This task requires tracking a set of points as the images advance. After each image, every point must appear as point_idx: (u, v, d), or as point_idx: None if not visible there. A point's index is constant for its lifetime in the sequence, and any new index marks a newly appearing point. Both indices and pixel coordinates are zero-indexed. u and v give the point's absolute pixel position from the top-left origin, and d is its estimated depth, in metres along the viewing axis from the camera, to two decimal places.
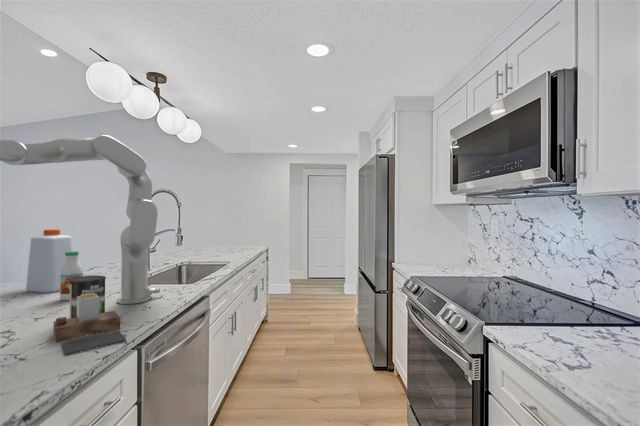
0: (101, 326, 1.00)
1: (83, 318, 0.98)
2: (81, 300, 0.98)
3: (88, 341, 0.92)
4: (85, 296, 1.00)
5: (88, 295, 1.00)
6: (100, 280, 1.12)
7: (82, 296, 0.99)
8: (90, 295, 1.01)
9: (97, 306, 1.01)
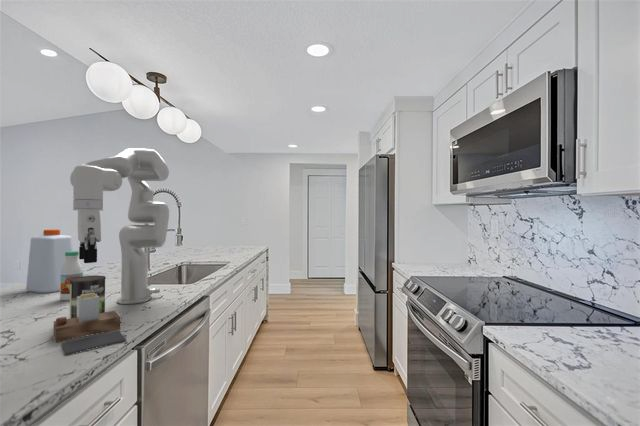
0: (101, 326, 1.00)
1: (83, 318, 0.98)
2: (81, 300, 0.98)
3: (88, 341, 0.92)
4: (85, 296, 1.00)
5: (88, 295, 1.00)
6: (100, 280, 1.12)
7: (82, 296, 0.99)
8: (90, 295, 1.01)
9: (97, 306, 1.01)
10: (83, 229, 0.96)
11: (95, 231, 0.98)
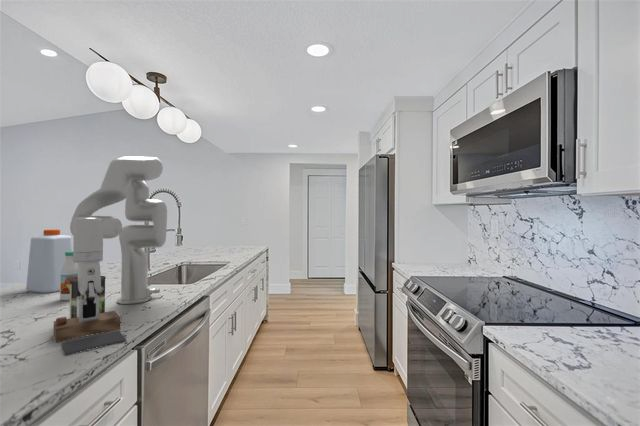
0: (101, 326, 1.00)
1: (83, 318, 0.98)
2: (81, 300, 0.98)
3: (88, 341, 0.92)
4: None
5: None
6: None
7: (82, 296, 0.99)
8: None
9: (97, 306, 1.01)
10: (83, 282, 0.96)
11: (95, 283, 0.98)
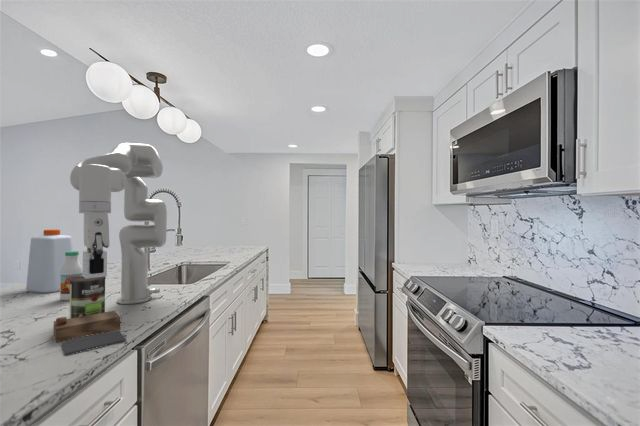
0: (101, 326, 1.00)
1: (90, 274, 0.90)
2: (87, 254, 0.89)
3: (88, 341, 0.92)
4: None
5: None
6: (100, 280, 1.12)
7: (88, 250, 0.91)
8: None
9: (105, 262, 0.92)
10: (90, 234, 0.88)
11: (103, 236, 0.90)
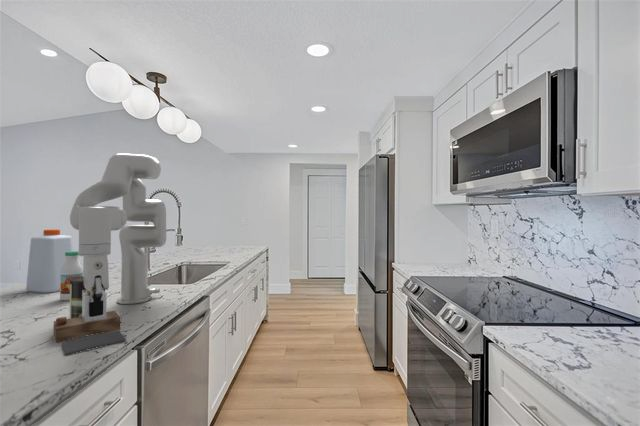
0: (101, 326, 1.00)
1: (89, 317, 0.90)
2: (87, 297, 0.89)
3: (88, 341, 0.92)
4: None
5: None
6: None
7: (88, 292, 0.91)
8: None
9: (104, 303, 0.92)
10: (90, 277, 0.88)
11: (103, 279, 0.90)
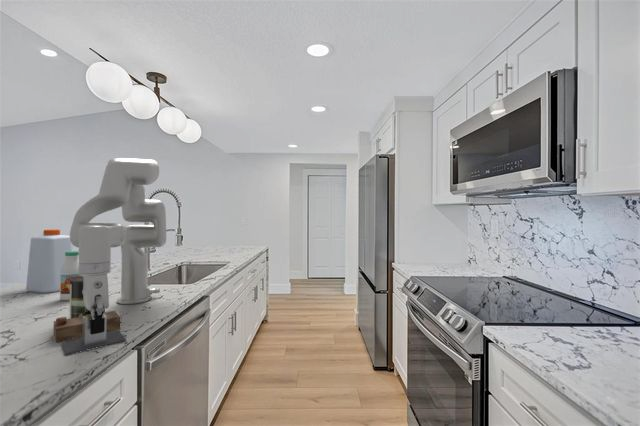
0: None
1: (89, 341, 0.90)
2: (87, 321, 0.90)
3: None
4: None
5: None
6: None
7: (88, 316, 0.91)
8: None
9: None
10: (90, 297, 0.88)
11: (102, 298, 0.90)
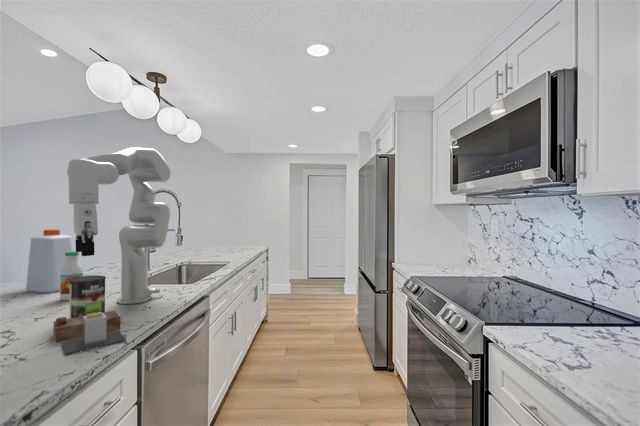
0: None
1: (89, 341, 0.90)
2: (87, 321, 0.90)
3: None
4: (91, 316, 0.92)
5: (95, 315, 0.92)
6: (100, 280, 1.12)
7: (88, 316, 0.91)
8: (97, 315, 0.92)
9: (104, 327, 0.92)
10: (80, 223, 0.97)
11: (92, 224, 0.99)
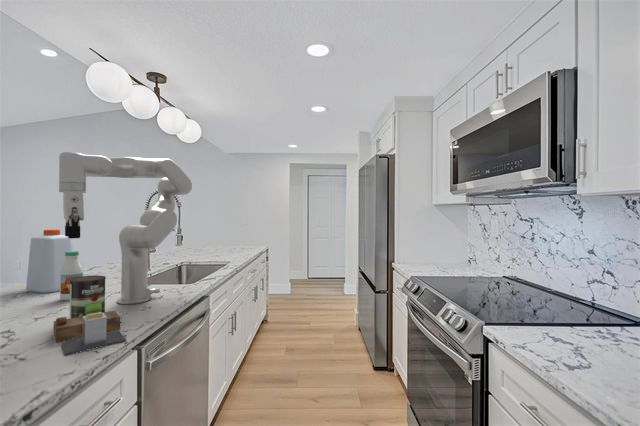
0: None
1: (89, 341, 0.90)
2: (87, 321, 0.90)
3: None
4: (91, 316, 0.92)
5: (95, 315, 0.92)
6: (100, 280, 1.12)
7: (88, 316, 0.91)
8: (97, 315, 0.92)
9: (104, 327, 0.92)
10: (67, 208, 1.08)
11: (78, 210, 1.10)
